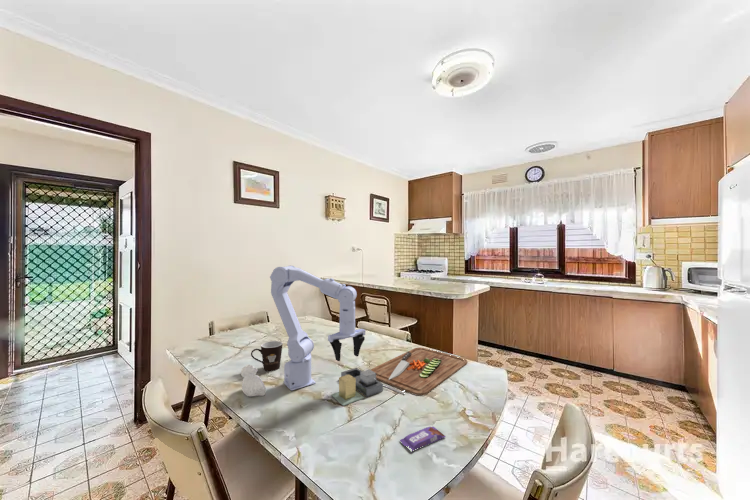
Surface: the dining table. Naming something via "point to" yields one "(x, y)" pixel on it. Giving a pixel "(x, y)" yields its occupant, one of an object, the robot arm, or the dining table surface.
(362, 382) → the gray metal block
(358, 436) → the dining table surface
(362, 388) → the gray slotted board
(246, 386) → the bust
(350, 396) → the tan wooden block
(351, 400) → the mat
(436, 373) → the chopping board
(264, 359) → the coffee mug
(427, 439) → the snack package
